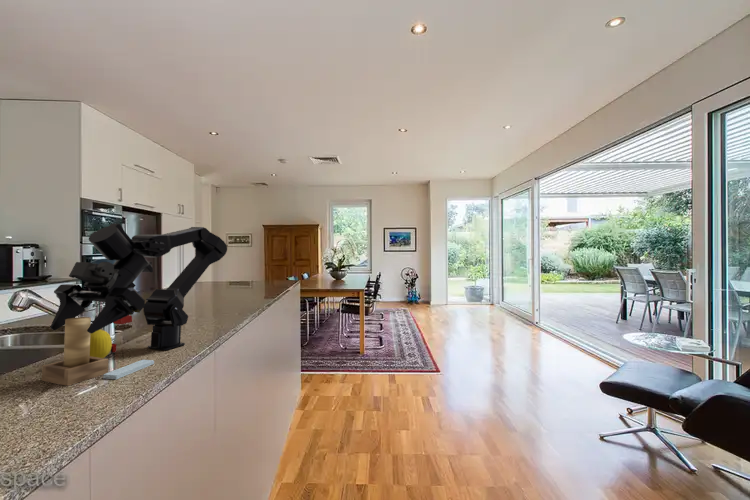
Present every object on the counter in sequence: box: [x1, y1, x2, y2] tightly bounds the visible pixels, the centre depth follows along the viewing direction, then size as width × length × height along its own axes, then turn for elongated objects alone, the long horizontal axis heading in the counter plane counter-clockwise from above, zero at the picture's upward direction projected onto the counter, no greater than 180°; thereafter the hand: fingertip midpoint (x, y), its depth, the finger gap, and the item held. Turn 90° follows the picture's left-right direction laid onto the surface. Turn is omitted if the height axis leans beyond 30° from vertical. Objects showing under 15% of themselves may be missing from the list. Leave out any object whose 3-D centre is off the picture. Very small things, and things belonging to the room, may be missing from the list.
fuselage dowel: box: [63, 316, 92, 368], centre depth 70 cm, size 4×4×11 cm
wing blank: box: [102, 359, 155, 380], centre depth 74 cm, size 10×3×1 cm, turn 173°
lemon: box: [90, 329, 113, 359], centre depth 79 cm, size 6×6×8 cm
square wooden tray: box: [41, 356, 109, 387], centre depth 70 cm, size 8×8×3 cm
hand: (70, 330), depth 69 cm, fingers open, 9 cm apart
